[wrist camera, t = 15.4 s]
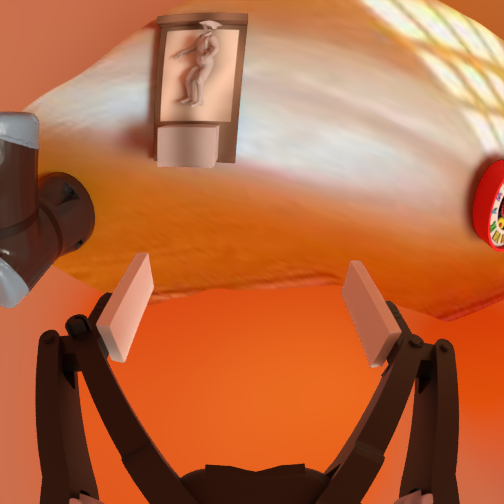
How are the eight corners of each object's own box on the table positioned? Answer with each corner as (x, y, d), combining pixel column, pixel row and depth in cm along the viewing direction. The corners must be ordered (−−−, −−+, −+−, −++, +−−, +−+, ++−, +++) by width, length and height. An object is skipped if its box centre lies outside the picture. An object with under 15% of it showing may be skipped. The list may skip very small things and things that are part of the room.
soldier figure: (168, 99, 33) (169, 22, 24) (197, 93, 35) (200, 20, 26) (198, 111, 30) (202, 19, 21) (229, 105, 32) (237, 20, 23)
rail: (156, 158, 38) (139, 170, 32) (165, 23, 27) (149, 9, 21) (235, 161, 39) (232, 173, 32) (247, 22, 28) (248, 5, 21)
